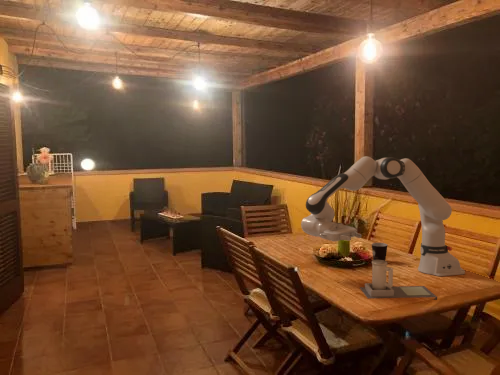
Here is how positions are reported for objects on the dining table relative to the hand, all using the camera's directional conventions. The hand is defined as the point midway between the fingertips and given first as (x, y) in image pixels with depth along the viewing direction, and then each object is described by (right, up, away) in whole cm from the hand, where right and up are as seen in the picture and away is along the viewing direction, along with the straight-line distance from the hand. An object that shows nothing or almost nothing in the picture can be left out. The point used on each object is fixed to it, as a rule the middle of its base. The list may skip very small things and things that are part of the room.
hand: (355, 237), depth 197 cm
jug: (+10, -24, -8) cm, 27 cm away
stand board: (+17, -25, -7) cm, 31 cm away
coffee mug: (+25, -19, +46) cm, 56 cm away
